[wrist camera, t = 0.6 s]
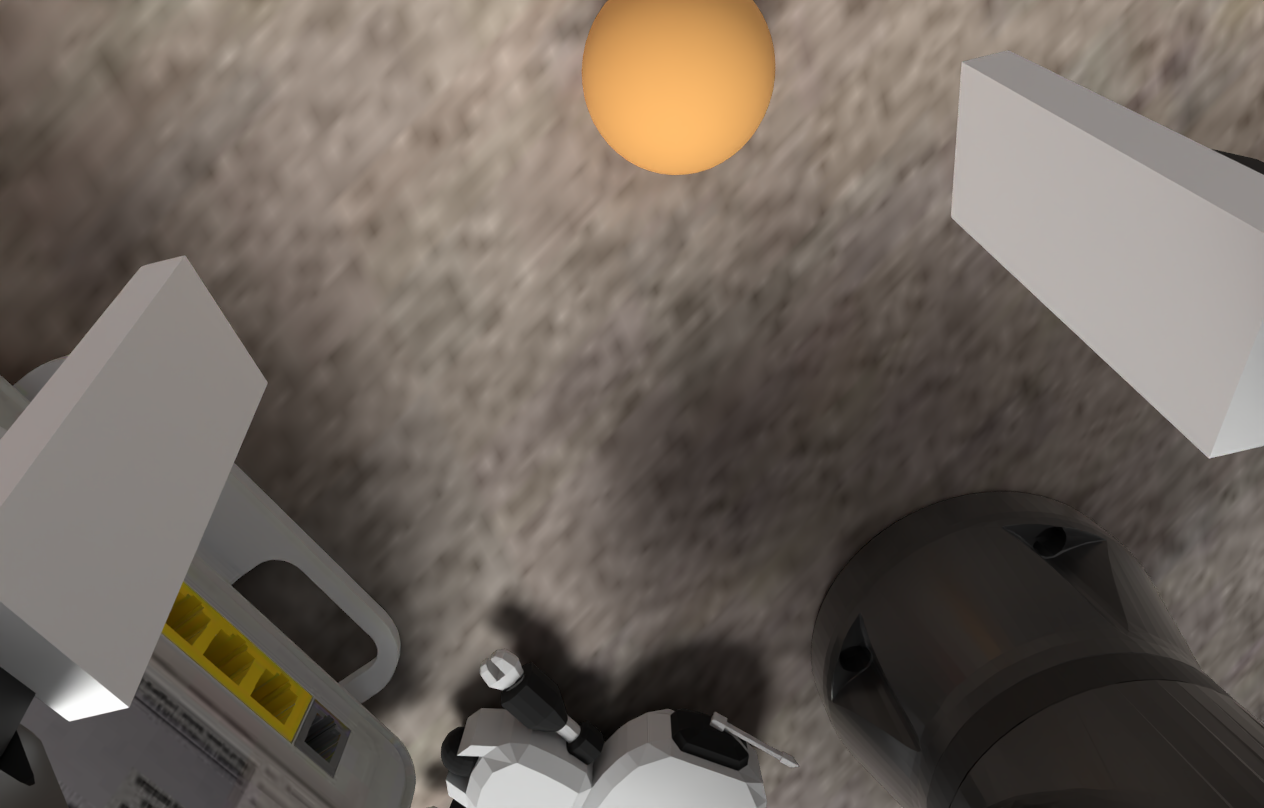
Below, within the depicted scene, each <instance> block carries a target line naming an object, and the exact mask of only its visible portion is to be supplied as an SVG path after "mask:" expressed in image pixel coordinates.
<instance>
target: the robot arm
mask: <svg viewBox="0 0 1264 808" xmlns="http://www.w3.org/2000/svg"><path fill="white" fill-rule="evenodd" d="M951 218H952V219H953V220H954V221H956V222H957V223H958V224H959V225H960V226H961V227H962V228H963V229H964V230H965V231H966V232H967V233H968V234H969V235H971V236H972V237H973V238H974V239H975V240H976V241H977V242H978V243H979V244H980V245H981V246H982V247H983V248H984V249H985V250H987V251H988V252H989V253H990V254H991V255H992V256H993V257H994V258H995V259H996V260H997V261H998V262H999V263H1000V264H1001V265H1003V266H1004V267H1005V268H1006V269H1007V270H1008V271H1009V272H1010V273H1011V274H1012V275H1013V276H1014V277H1015V278H1016V279H1018V280H1019V281H1020V282H1021V283H1022V284H1023V285H1024V286H1025V287H1026V288H1027V289H1028V290H1029V291H1030V292H1031V293H1032V294H1034V295H1035V296H1036V297H1037V298H1038V299H1039V300H1040V301H1041V302H1042V303H1043V304H1044V305H1045V306H1046V307H1047V308H1049V309H1050V310H1051V311H1052V312H1053V313H1054V314H1055V315H1056V316H1057V317H1058V318H1059V319H1060V320H1061V321H1062V322H1063V323H1065V324H1066V325H1067V326H1068V327H1069V328H1070V329H1071V330H1072V331H1073V332H1074V333H1075V334H1076V335H1077V336H1078V337H1080V338H1081V339H1082V340H1083V341H1084V342H1085V343H1086V344H1087V345H1088V346H1089V347H1090V348H1091V349H1092V350H1093V351H1094V352H1096V353H1097V354H1098V355H1099V356H1100V357H1101V358H1102V359H1103V360H1104V361H1105V362H1106V363H1107V364H1108V365H1109V366H1111V367H1112V368H1113V369H1114V370H1115V371H1116V372H1117V373H1118V374H1119V375H1120V376H1121V377H1122V378H1123V379H1124V380H1125V381H1127V382H1128V383H1129V384H1130V385H1131V386H1132V387H1133V388H1134V389H1135V390H1136V391H1137V392H1138V393H1139V394H1140V395H1142V396H1143V397H1144V398H1145V399H1146V400H1147V401H1148V402H1149V403H1150V404H1151V405H1152V406H1153V407H1154V408H1155V409H1156V410H1158V411H1159V412H1160V413H1161V414H1162V415H1163V416H1164V417H1165V418H1166V419H1167V420H1168V421H1169V422H1170V423H1171V424H1173V425H1174V426H1175V427H1176V428H1177V429H1178V430H1179V431H1180V432H1181V433H1182V434H1183V435H1184V436H1185V437H1186V438H1187V439H1189V440H1190V441H1191V442H1192V443H1193V444H1194V445H1195V446H1196V447H1197V448H1198V449H1199V450H1200V451H1201V452H1202V453H1203V454H1205V455H1206V456H1207V457H1208V458H1209V459H1210V458H1214V457H1218V456H1223V455H1227V454H1231V453H1236V452H1240V451H1244V450H1249V449H1253V448H1257V447H1262V446H1264V163H1263V162H1261V161H1259V160H1257V159H1253V158H1248V157H1244V156H1239V155H1235V154H1231V153H1226V152H1222V151H1218V150H1213V149H1210V148H1208V147H1206V146H1203V145H1201V144H1199V143H1197V142H1195V141H1193V140H1191V139H1189V138H1187V137H1185V136H1183V135H1181V134H1179V133H1177V132H1175V131H1173V130H1171V129H1169V128H1167V127H1165V126H1163V125H1161V124H1159V123H1156V122H1154V121H1152V120H1150V119H1148V118H1146V117H1144V116H1142V115H1140V114H1138V113H1136V112H1134V111H1132V110H1130V109H1128V108H1126V107H1124V106H1122V105H1120V104H1118V103H1116V102H1114V101H1112V100H1109V99H1107V98H1105V97H1103V96H1101V95H1099V94H1097V93H1095V92H1093V91H1091V90H1089V89H1087V88H1085V87H1083V86H1081V85H1079V84H1077V83H1075V82H1073V81H1071V80H1069V79H1067V78H1065V77H1062V76H1060V75H1058V74H1056V73H1054V72H1052V71H1050V70H1048V69H1046V68H1044V67H1042V66H1040V65H1038V64H1036V63H1034V62H1032V61H1030V60H1028V59H1026V58H1024V57H1022V56H1020V55H1017V54H1015V53H1013V52H1011V51H1009V50H1007V51H1003V52H999V53H995V54H991V55H987V56H983V57H979V58H975V59H971V60H967V61H963V62H962V65H961V79H960V93H959V108H958V122H957V136H956V151H955V165H954V179H953V194H952V208H951ZM267 384H268V382H267V381H266V379H265V378H264V376H263V375H262V373H261V371H260V370H259V368H258V367H257V365H256V364H255V362H254V361H253V359H252V358H251V356H250V354H249V353H248V351H247V350H246V348H245V347H244V345H243V344H242V342H241V341H240V339H239V337H238V336H237V334H236V333H235V331H234V330H233V328H232V327H231V325H230V323H229V322H228V320H227V319H226V317H225V316H224V314H223V313H222V311H221V310H220V308H219V306H218V305H217V303H216V302H215V300H214V299H213V297H212V296H211V294H210V293H209V291H208V289H207V288H206V286H205V285H204V283H203V282H202V280H201V279H200V277H199V276H198V274H197V272H196V271H195V269H194V268H193V266H192V265H191V263H190V262H189V260H188V259H187V257H186V255H184V256H180V257H176V258H172V259H168V260H164V261H160V262H156V263H152V264H148V265H144V266H141V267H140V268H139V270H138V271H137V272H136V273H135V275H134V276H133V277H132V278H131V280H130V281H129V282H128V283H127V284H126V286H125V287H124V288H123V289H122V291H121V292H120V293H119V294H118V296H117V297H116V298H115V299H114V300H113V302H112V303H111V304H110V305H109V307H108V308H107V309H106V310H105V312H104V313H103V314H102V315H101V316H100V318H99V319H98V320H97V321H96V323H95V324H94V325H93V326H92V328H91V329H90V330H89V331H88V332H87V334H86V335H85V336H84V337H83V339H82V340H81V341H80V342H79V344H78V345H77V346H76V347H75V348H74V350H73V351H72V352H71V353H70V355H69V356H68V357H67V358H66V360H65V361H64V362H63V363H62V364H61V366H60V367H59V368H58V369H57V371H56V372H55V373H54V374H53V376H52V377H51V378H50V379H49V381H48V382H47V383H46V384H45V385H44V387H43V388H42V389H41V390H40V392H39V393H38V394H37V395H36V397H35V398H34V399H33V400H32V401H31V403H30V404H29V405H28V406H27V408H26V409H25V410H24V411H23V413H22V414H21V415H20V416H19V417H18V419H17V420H16V421H15V422H14V424H13V425H12V426H11V427H10V429H9V430H8V431H7V432H6V433H5V435H4V436H3V437H2V438H1V440H0V808H69V807H68V805H67V803H66V800H65V798H64V795H63V793H62V790H61V788H60V785H59V783H58V781H57V778H56V776H55V773H54V771H53V768H52V766H51V763H50V761H49V759H48V756H47V754H46V751H45V749H44V746H43V744H42V741H41V740H40V739H39V738H38V737H37V736H36V735H35V734H34V733H33V732H32V731H30V730H29V729H27V728H26V727H24V726H23V725H22V724H20V722H21V720H22V718H23V716H24V715H25V713H26V711H27V709H28V707H29V705H30V703H31V702H32V700H33V698H34V696H36V697H37V698H38V699H40V700H41V701H42V702H44V703H45V704H46V705H48V706H49V707H50V708H52V709H53V710H54V711H56V712H57V713H58V714H60V715H61V716H62V717H64V718H65V719H66V720H68V721H73V720H78V719H82V718H86V717H91V716H95V715H99V714H104V713H108V712H112V711H117V710H121V709H125V708H129V707H130V705H131V702H132V700H133V698H134V695H135V693H136V691H137V688H138V686H139V684H140V681H141V679H142V677H143V674H144V672H145V670H146V667H147V665H148V663H149V660H150V658H151V656H152V653H153V651H154V649H155V646H156V644H157V642H158V639H159V637H160V635H161V632H162V630H163V627H164V625H165V623H166V620H167V618H168V616H169V613H170V611H171V609H172V606H173V604H174V602H175V599H176V597H177V595H178V592H179V590H180V588H181V585H182V583H183V581H184V578H185V576H186V574H187V571H188V569H189V567H190V564H191V562H192V560H193V557H194V555H195V553H196V550H197V548H198V546H199V543H200V541H201V539H202V536H203V534H204V531H205V529H206V527H207V524H208V522H209V520H210V517H211V515H212V513H213V510H214V508H215V506H216V503H217V501H218V499H219V496H220V494H221V492H222V489H223V487H224V485H225V482H226V480H227V478H228V475H229V473H230V471H231V468H232V466H233V464H234V461H235V459H236V457H237V454H238V452H239V450H240V447H241V445H242V442H243V440H244V438H245V435H246V433H247V431H248V428H249V426H250V424H251V421H252V419H253V417H254V414H255V412H256V410H257V407H258V405H259V403H260V400H261V398H262V396H263V393H264V391H265V389H266V386H267ZM811 660H812V670H813V676H814V680H815V684H816V687H817V690H818V692H819V695H820V697H821V700H822V702H823V704H824V707H825V709H826V711H827V714H828V716H829V718H830V721H831V723H832V725H833V727H834V729H835V731H836V733H837V734H838V736H839V738H840V739H841V741H842V742H843V744H844V745H845V747H846V748H847V749H848V751H849V752H850V753H851V754H852V755H853V756H854V758H855V759H856V760H857V761H858V762H859V763H860V764H861V765H862V766H863V767H864V768H865V769H866V770H867V771H868V772H869V773H870V774H871V775H872V776H873V777H874V778H875V779H876V780H877V781H878V782H879V783H880V784H881V785H882V786H883V787H884V788H885V789H886V790H887V791H888V792H889V793H890V794H891V795H892V797H893V798H894V799H895V800H896V801H897V802H898V803H899V804H900V805H901V806H902V807H903V808H1264V724H1263V723H1261V722H1260V721H1259V720H1258V719H1257V718H1255V717H1254V716H1253V715H1252V714H1251V713H1250V712H1248V711H1247V710H1246V709H1245V708H1244V707H1243V706H1241V705H1240V704H1239V703H1237V702H1236V701H1235V700H1234V699H1233V698H1232V697H1231V696H1230V695H1228V694H1227V693H1226V692H1225V691H1224V690H1223V689H1222V688H1221V687H1219V686H1218V685H1217V684H1216V683H1215V682H1214V681H1213V680H1212V679H1211V678H1210V677H1208V676H1207V675H1206V674H1205V673H1204V672H1203V671H1202V670H1201V668H1200V666H1199V664H1198V663H1197V661H1196V659H1195V657H1194V656H1193V654H1192V652H1191V650H1190V649H1189V647H1188V645H1187V643H1186V642H1185V640H1184V638H1183V636H1182V635H1181V633H1180V631H1179V629H1178V628H1177V626H1176V624H1175V622H1174V621H1173V619H1172V617H1171V615H1170V614H1169V612H1168V610H1167V608H1166V607H1165V605H1164V603H1163V601H1162V600H1161V598H1160V596H1159V594H1158V593H1157V591H1156V589H1155V587H1154V586H1153V584H1152V582H1151V580H1150V578H1149V577H1148V575H1147V574H1146V572H1145V570H1144V569H1143V567H1142V566H1141V565H1140V563H1139V562H1138V561H1137V560H1136V559H1135V558H1134V556H1133V555H1132V554H1131V553H1130V552H1129V551H1128V550H1127V549H1126V548H1125V547H1124V546H1123V545H1122V544H1121V543H1120V542H1119V541H1117V540H1116V539H1115V538H1114V537H1112V536H1111V535H1110V534H1108V533H1107V532H1106V531H1105V530H1103V529H1102V528H1101V527H1099V526H1098V525H1097V524H1096V523H1094V522H1093V521H1092V520H1090V519H1089V518H1088V517H1086V516H1085V515H1084V514H1082V513H1080V512H1079V511H1077V510H1075V509H1074V508H1072V507H1070V506H1068V505H1066V504H1063V503H1061V502H1058V501H1056V500H1053V499H1050V498H1046V497H1043V496H1038V495H1033V494H1028V493H1020V492H985V493H977V494H970V495H965V496H960V497H956V498H952V499H949V500H945V501H942V502H939V503H936V504H933V505H930V506H928V507H926V508H923V509H921V510H919V511H917V512H915V513H913V514H911V515H909V516H907V517H905V518H903V519H901V520H900V521H898V522H896V523H894V524H893V525H891V526H890V527H888V528H887V529H885V530H884V531H883V532H881V533H880V534H879V535H877V536H876V537H875V538H873V539H872V540H871V541H870V542H869V543H868V544H866V545H865V546H864V547H863V548H862V549H861V550H860V551H859V552H858V553H857V554H856V555H855V556H854V557H853V558H852V559H851V561H850V562H849V563H848V564H847V565H846V566H845V568H844V569H843V570H842V571H841V573H840V574H839V575H838V577H837V578H836V580H835V581H834V583H833V584H832V586H831V588H830V590H829V591H828V593H827V595H826V597H825V599H824V601H823V603H822V606H821V608H820V611H819V614H818V616H817V620H816V623H815V627H814V632H813V638H812V647H811Z"/></svg>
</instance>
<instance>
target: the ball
mask: <svg viewBox="0 0 1264 808" xmlns="http://www.w3.org/2000/svg"><path fill="white" fill-rule="evenodd" d="M774 80H775V55H774V48H773V43H772V38H771V35H770V32H769V29H768V26H767V24H766V21H765V19H764V17H763V15H762V13H761V12H760V10H759V9H758V7H757V6H756V4H755V3H754V1H753V0H608V1H607V2H606V3H605V4H604V6H603V7H602V9H601V10H600V12H599V13H598V15H597V16H596V18H595V20H594V22H593V25H592V27H591V29H590V31H589V34H588V37H587V40H586V43H585V49H584V54H583V62H582V85H583V91H584V96H585V100H586V104H587V107H588V110H589V113H590V115H591V117H592V120H593V122H594V124H595V126H596V127H597V129H598V131H599V132H600V134H601V135H602V137H603V138H604V139H605V140H606V142H607V143H608V144H609V145H610V146H611V147H612V148H613V149H614V150H615V151H616V152H617V153H618V154H619V155H621V156H622V157H623V158H625V159H626V160H627V161H629V162H631V163H633V164H635V165H636V166H638V167H641V168H643V169H646V170H648V171H652V172H656V173H660V174H669V175H684V174H691V173H697V172H701V171H704V170H707V169H710V168H712V167H714V166H716V165H718V164H721V163H722V162H724V161H725V160H727V159H728V158H730V157H731V156H733V155H734V154H735V153H736V152H737V151H739V150H740V149H741V148H742V147H743V146H744V145H745V144H746V143H747V142H748V140H749V139H750V138H751V137H752V135H753V134H754V132H755V131H756V130H757V128H758V126H759V125H760V123H761V121H762V119H763V117H764V115H765V113H766V111H767V108H768V106H769V103H770V99H771V96H772V92H773V86H774Z"/></svg>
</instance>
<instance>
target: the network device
mask: <svg viewBox="0 0 1264 808" xmlns="http://www.w3.org/2000/svg"><path fill="white" fill-rule="evenodd" d="M68 356H69V355H66V356H63V357H60V358H57V359H54V360H51V361H49V362H46V363H44V364H42V365H40V366H39V367H37V368H35V369H34V370H32V371H31V372H29V373H28V374H26V375H25V376H24V377H23V378H21V379H20V380H19V381H18V382H17V383H15V384H14V385H13V386H12V385H11V384H10V383H9V382H8V381H6V380H5V379H4V378H3V377H2V376H1V375H0V440H1V438H2V437H3V436H4V435H5V433H6V432H7V431H8V430H9V429H10V427H11V426H12V425H13V424H14V422H15V421H16V420H17V419H18V417H19V416H20V415H21V414H22V413H23V411H24V410H25V409H26V408H27V406H28V405H29V404H30V403H31V401H32V400H33V399H34V398H35V397H36V395H37V394H38V393H39V392H40V390H41V389H42V388H43V387H44V385H45V384H46V383H47V382H48V381H49V379H50V378H51V377H52V376H53V374H54V373H55V372H56V371H57V369H58V368H59V367H60V366H61V364H62V363H63V362H64V361H65V360H66V358H67V357H68ZM268 560H282V561H286V562H289V563H291V564H293V565H295V566H297V567H298V568H299V569H300V570H302V571H303V572H304V573H305V574H306V575H307V576H308V577H309V578H310V579H311V580H312V581H313V582H314V583H315V584H316V585H317V586H318V587H319V588H320V589H321V590H322V591H323V592H325V593H326V594H327V595H328V596H329V597H330V598H331V599H332V600H333V601H334V602H335V603H336V604H337V605H338V606H339V607H340V608H341V609H342V610H343V611H344V612H345V613H346V614H347V615H348V616H350V617H351V618H352V619H353V620H354V621H355V622H356V623H357V624H358V625H359V626H360V627H361V628H362V629H363V630H364V631H365V632H366V633H367V634H368V635H369V636H370V637H371V638H372V639H373V640H374V642H375V644H376V646H377V650H378V655H377V656H376V657H375V658H374V659H373V660H371V661H370V662H368V663H367V664H365V665H364V666H362V667H361V668H359V669H358V670H356V671H355V672H353V673H352V674H350V675H349V676H347V677H346V678H344V679H343V680H341V681H340V682H338V683H337V682H336V681H335V680H334V679H333V678H332V677H331V676H330V675H329V674H328V673H326V672H325V671H324V670H323V669H322V668H321V667H320V666H319V665H318V664H317V663H316V662H314V661H313V660H312V659H311V658H310V657H309V656H308V655H307V654H306V653H305V652H303V651H302V650H301V649H300V648H299V647H298V646H297V645H296V644H295V643H294V642H293V641H291V640H290V639H289V638H288V637H287V636H286V635H285V634H284V633H283V632H282V631H280V630H279V629H278V628H277V627H276V626H275V625H274V624H273V623H272V622H271V621H269V620H268V619H267V618H266V617H265V616H264V615H263V614H262V613H261V612H260V611H259V610H257V609H256V608H255V607H254V606H253V605H252V604H251V603H250V602H249V601H248V600H246V599H245V598H244V597H243V596H242V595H241V594H240V593H239V592H238V591H237V590H236V589H234V588H233V587H232V586H231V585H232V584H233V583H234V582H235V581H237V580H238V579H239V578H240V577H241V576H243V575H244V574H245V573H247V572H248V571H250V570H251V569H252V568H254V567H255V566H257V565H258V564H260V563H262V562H265V561H268ZM400 649H401V642H400V637H399V632H398V630H397V628H396V626H395V624H394V622H393V620H392V619H391V618H390V616H389V615H388V614H387V613H386V612H385V610H384V609H383V608H382V607H381V606H379V605H378V604H377V603H376V602H375V601H374V600H373V599H372V598H371V597H370V596H369V595H368V594H367V593H366V592H365V591H364V590H363V589H362V588H361V587H360V586H359V585H358V584H357V583H356V582H355V581H354V580H353V579H352V578H351V577H350V576H349V575H348V574H347V573H346V572H345V571H344V570H343V569H342V568H341V567H340V566H339V565H338V564H337V563H336V562H335V561H334V560H333V559H332V558H331V557H330V556H329V555H328V554H327V553H326V552H325V551H324V550H323V549H322V548H320V547H319V546H318V545H317V544H316V543H315V542H314V541H313V540H312V539H311V538H310V537H309V536H308V535H307V534H306V533H305V532H304V531H303V530H302V529H301V528H300V527H299V526H298V525H297V524H296V523H295V522H294V521H293V520H292V519H291V518H290V517H289V516H288V515H287V514H286V513H285V512H284V511H283V510H282V509H281V508H280V507H279V506H278V505H277V504H276V503H275V502H274V501H273V500H272V499H271V498H270V497H269V496H268V495H267V494H266V493H265V492H264V491H263V490H262V489H260V488H259V487H258V486H257V485H256V484H255V483H254V482H253V481H252V480H251V479H250V478H249V477H248V476H247V475H246V474H245V473H244V472H243V471H242V470H241V469H240V468H239V467H238V466H237V465H236V464H235V463H234V464H233V466H232V468H231V471H230V473H229V475H228V478H227V480H226V482H225V485H224V487H223V489H222V492H221V494H220V496H219V499H218V501H217V503H216V506H215V508H214V510H213V513H212V515H211V517H210V520H209V522H208V524H207V527H206V529H205V531H204V534H203V536H202V539H201V541H200V543H199V546H198V548H197V550H196V553H195V555H194V557H193V560H192V562H191V564H190V567H189V569H188V571H187V574H186V576H185V578H184V581H183V583H182V585H181V588H180V590H179V592H178V595H177V597H176V599H175V602H174V604H173V606H172V609H171V611H170V613H169V616H168V618H167V620H166V623H165V625H164V627H163V630H162V632H161V635H160V637H159V639H158V642H157V644H156V646H155V649H154V651H153V653H152V656H151V658H150V660H149V663H148V665H147V667H146V670H145V672H144V674H143V677H142V679H141V681H140V684H139V686H138V688H137V691H136V693H135V695H134V698H133V700H132V702H131V705H130V707H129V708H125V709H121V710H117V711H112V712H108V713H104V714H99V715H95V716H91V717H86V718H82V719H78V720H73V721H68V720H66V719H65V718H64V717H62V716H61V715H60V714H58V713H57V712H56V711H54V710H53V709H52V708H50V707H49V706H48V705H46V704H45V703H44V702H42V701H41V700H40V699H38V698H37V697H36V696H34V698H33V700H32V702H31V703H30V705H29V707H28V709H27V711H26V713H25V715H24V716H23V718H22V720H21V722H20V724H22V725H23V726H24V727H26V728H27V729H29V730H30V731H32V732H33V733H34V734H35V735H36V736H37V737H38V738H39V739H40V740H41V741H42V744H43V746H44V749H45V751H46V754H47V756H48V759H49V761H50V763H51V766H52V768H53V771H54V773H55V776H56V778H57V781H58V783H59V785H60V788H61V790H62V793H63V795H64V798H65V800H66V803H67V805H68V807H69V808H410V807H411V803H412V799H413V795H414V791H415V784H416V776H415V770H414V765H413V762H412V759H411V756H410V754H409V752H408V750H407V749H406V747H405V746H404V744H403V743H402V742H401V741H400V739H399V738H398V737H397V736H396V735H394V734H393V733H392V732H391V731H390V730H389V729H388V728H387V727H386V726H385V725H383V724H382V723H381V722H380V721H379V720H378V719H377V718H376V717H375V716H374V715H373V714H371V713H370V712H369V711H368V710H367V709H366V708H365V707H364V706H363V705H362V704H361V703H363V702H365V701H366V700H368V699H369V698H371V697H372V696H374V695H375V694H377V693H378V692H379V691H380V690H381V689H383V688H384V687H385V686H386V685H387V683H388V682H389V681H390V679H391V678H392V676H393V674H394V671H395V669H396V666H397V663H398V660H399V657H400Z"/></svg>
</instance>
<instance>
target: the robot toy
mask: <svg viewBox="0 0 1264 808" xmlns="http://www.w3.org/2000/svg"><path fill="white" fill-rule="evenodd" d="M480 675H481V676H482V678H483V679H484V681H485V682H486V683H487V685H488V686H489V687H491V688H495V689H499V690H503V691H502V693H501V706H503V707H504V708H505V709H490V708H481V709H479V710H478V711H477V712H475V713H474V714H472V715H471V716H470V717H468V719H467V722H466V726H464V727H458V728H456V729H454V730H452V731H451V732H450V733H449V734H448V735H447V737H446V738H445V740H444V741H443V743H442V747H441V759H442V761H443V764H444V766H445V767H446V768H447V769H448V770H449V771H448V774H447V778H446V784H447V789H448V795H449V796H450V797H452V798H453V801H452V803H451V806H450V808H766V804H767V800H766V795H765V790H764V785H763V780H762V775H761V770H760V766H759V761H758V756H757V752H756V751H755V750H754V749H753V748H752V747H751V746H750V745H749V744H748V743H750V744H752V745H754V746H755V747H757V748H759V749H761V750H763V751H764V752H766V753H768V754H770V755H772V756H773V757H775V758H777V759H779V760H780V762H781V763H783V764H785V765H787V766H788V767H800V766H799V765H798V763H797V762H796V760H795V759H794V757H792V756H791V755H789V754H787V753H785V752H780V751H778V750H777V749H775V748H773V747H771V746H769V745H767V744H766V743H764V742H762V741H760V740H758V739H757V738H755V737H753V736H751V735H749V734H748V733H746V732H744V731H742V730H740V729H739V728H737V727H735V726H733V725H732V724H731V723H729V722H727V718H726V717H724V716H722V715H720V714H718V713H717V712H714V714H713V716H710V715H707V714H704V713H701V712H695V711H691V710H687V709H677V710H676V711H673V710H670V709H664V710H658V711H653V712H648V713H645V714H643V715H641V716H639V717H637V718H635V719H633V720H631V721H629V722H627V723H626V724H624V725H623V726H622V727H620V728H619V729H618V730H617V731H616V732H615V733H614V734H613V735H612V736H611V737H610V738H609V739H608V740H607V741H606V742H605V743H604V739H603V734H602V733H601V732H600V731H599V730H598V729H596V728H595V727H594V726H593V725H592V724H591V723H590V722H589V721H588V720H587V721H585V722H582V723H580V724H577V723H576V722H575V721H574V720H573V719H571V718H570V717H569V716H568V715H567V712H566V709H565V705H564V702H563V699H562V696H561V693H560V691H559V688H558V685H557V684H555V683H554V682H553V681H552V680H551V679H550V678H549V677H548V676H547V675H545V674H544V673H543V672H542V671H541V670H540V669H539V668H538V667H537V666H535V665H534V664H533V663H532V662H530V663H528V664H526V665H524V666H521V664H520V661H519V659H518V657H517V656H516V655H515V654H513V653H511V652H509V651H507V650H506V649H501V650H496V651H495V652H494V653H493V654H492V657H491V660H490V659H489V658H486V659H485V660H484V661H483V662H482V664H481V666H480ZM747 742H748V743H747ZM428 808H437V807H435V806H432V807H428Z"/></svg>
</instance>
